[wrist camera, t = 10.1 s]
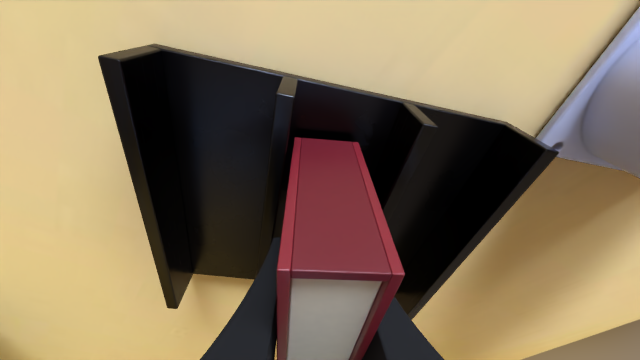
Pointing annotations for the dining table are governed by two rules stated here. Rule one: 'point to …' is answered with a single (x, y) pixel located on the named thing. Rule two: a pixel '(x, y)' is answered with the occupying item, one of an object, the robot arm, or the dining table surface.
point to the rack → (275, 161)
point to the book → (332, 255)
